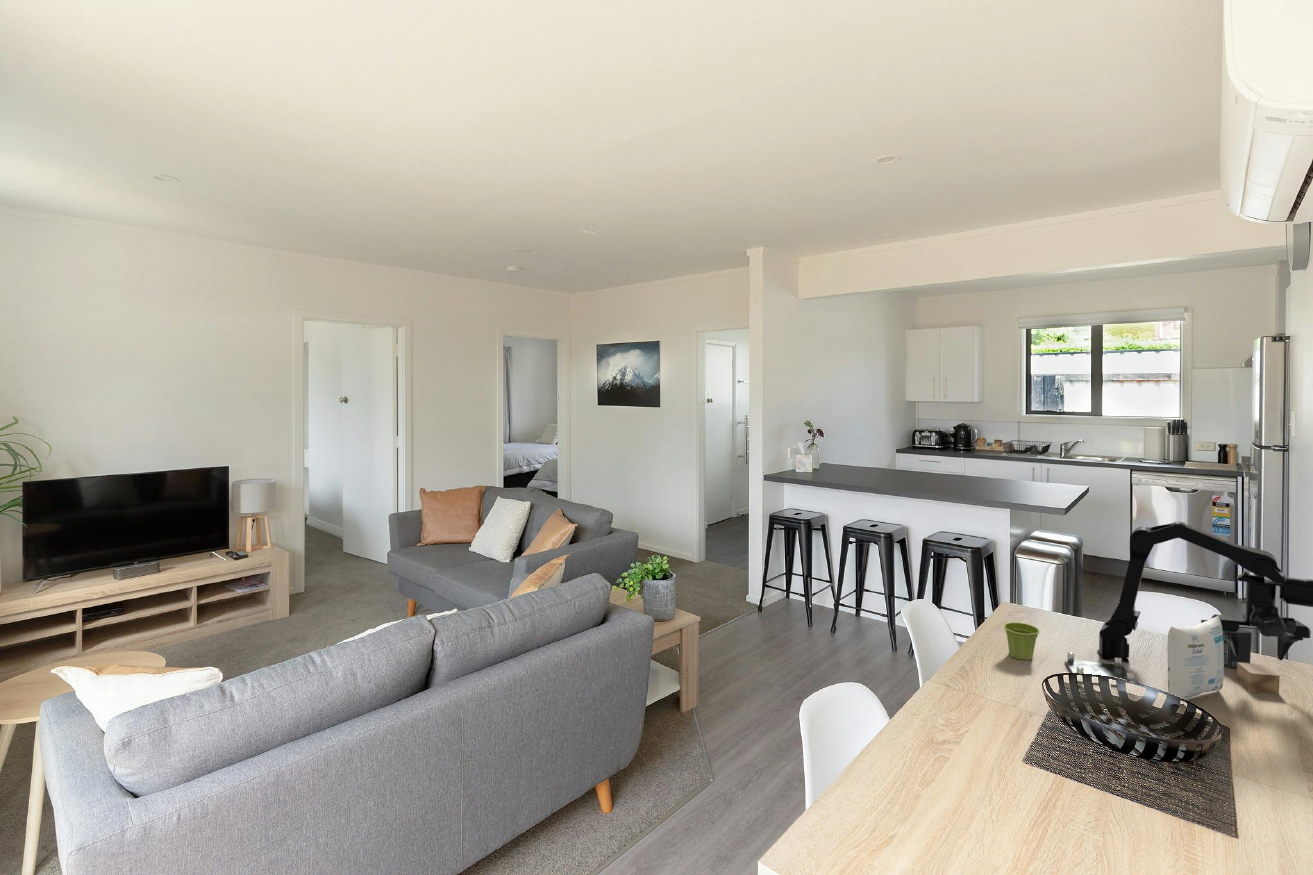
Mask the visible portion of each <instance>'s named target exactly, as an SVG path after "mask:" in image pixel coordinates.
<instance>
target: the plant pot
mask: <svg viewBox="0 0 1313 875" xmlns="http://www.w3.org/2000/svg"><path fill="white" fill-rule="evenodd" d="M1003 628H1004V631H1005V633H1006V639H1007V645H1008V646H1007V647H1008V654H1009V656H1010V657H1012V658H1014V659H1017V660H1026V661H1029V660H1032V659H1033V657H1034V652H1035V645H1036V642H1037V641H1036V640H1037V638H1038V635H1039V634H1040V628H1038V627H1037V626H1034V625H1032V624H1029V623H1028V624H1027V623H1025V622H1007V623H1005V624H1003Z"/></svg>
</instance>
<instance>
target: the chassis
mask: <svg viewBox="0 0 1313 875" xmlns="http://www.w3.org/2000/svg"><path fill="white" fill-rule="evenodd" d="M1066 654H1067V656H1066V657H1067V658H1065V659H1064V663H1065V665H1066V667H1067V669H1068V671H1069V672H1070V673H1079V674H1083V673H1084V674H1092V675H1101V676H1110V677H1117V678H1122V679H1125V680H1127V681H1133V682H1135V683H1136V681H1135V673H1134V672H1130V671H1127V670H1126V668H1125V667H1124V666H1123V665H1122V664H1123V661H1122V658H1120V657H1115V660H1114V663H1105V662H1095V661H1087V660H1078V659H1077V660H1075V653H1074V652H1072V651H1071V652H1070V651H1068V652H1067V653H1066ZM1136 684H1137V683H1136Z"/></svg>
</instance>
